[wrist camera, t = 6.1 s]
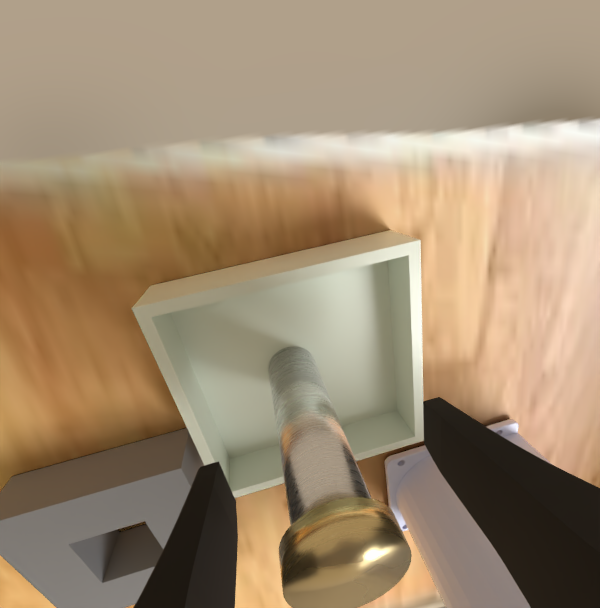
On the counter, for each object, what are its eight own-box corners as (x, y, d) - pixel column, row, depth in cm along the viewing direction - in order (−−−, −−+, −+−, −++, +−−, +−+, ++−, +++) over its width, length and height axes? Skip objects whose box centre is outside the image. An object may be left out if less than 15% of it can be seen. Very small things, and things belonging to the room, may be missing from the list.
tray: (391, 229, 14) (420, 240, 12) (401, 408, 18) (424, 440, 16) (150, 285, 13) (131, 308, 11) (223, 459, 17) (221, 502, 15)
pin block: (189, 427, 16) (180, 468, 14) (235, 526, 20) (234, 571, 17) (11, 476, 15) (-28, 528, 13) (94, 570, 19) (74, 624, 17)
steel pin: (318, 332, 15) (411, 515, 7) (325, 384, 16) (410, 589, 8) (254, 347, 14) (271, 558, 6) (266, 398, 16) (294, 628, 8)
